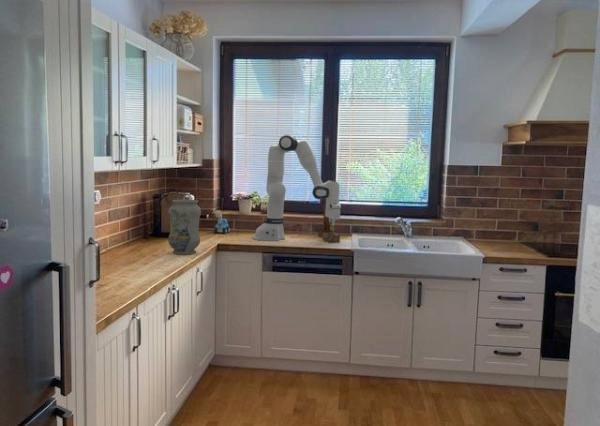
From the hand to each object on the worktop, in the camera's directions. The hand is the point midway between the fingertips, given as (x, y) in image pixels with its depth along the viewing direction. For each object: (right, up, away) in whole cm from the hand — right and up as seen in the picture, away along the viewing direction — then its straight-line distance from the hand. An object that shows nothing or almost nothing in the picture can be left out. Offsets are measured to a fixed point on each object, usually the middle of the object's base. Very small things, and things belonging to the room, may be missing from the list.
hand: (331, 224), depth 336 cm
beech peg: (0, -4, 0) cm, 4 cm away
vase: (-87, -15, -55) cm, 104 cm away
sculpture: (-3, -9, +20) cm, 22 cm away
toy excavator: (-79, -7, +21) cm, 82 cm away
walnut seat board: (-1, -11, +1) cm, 11 cm away
